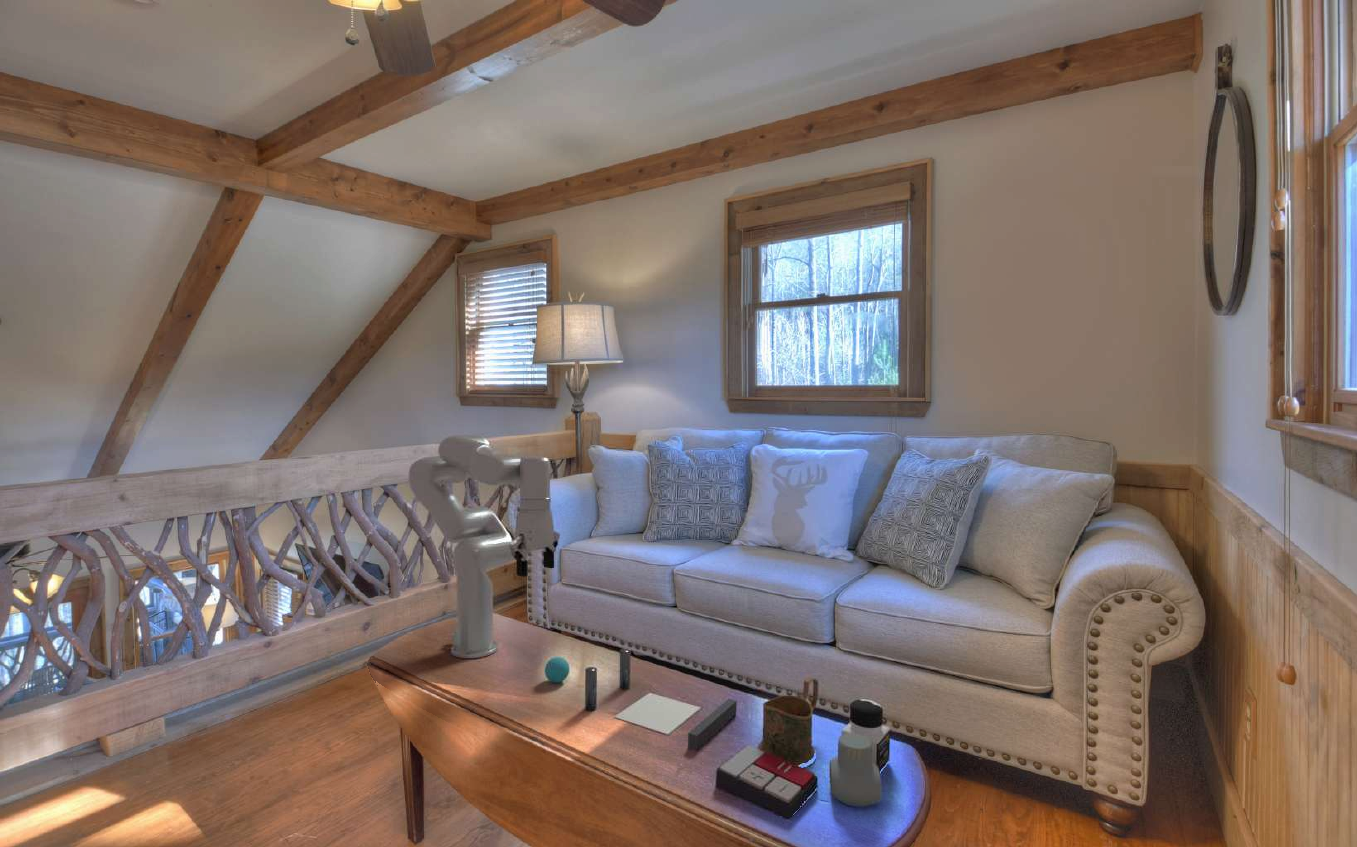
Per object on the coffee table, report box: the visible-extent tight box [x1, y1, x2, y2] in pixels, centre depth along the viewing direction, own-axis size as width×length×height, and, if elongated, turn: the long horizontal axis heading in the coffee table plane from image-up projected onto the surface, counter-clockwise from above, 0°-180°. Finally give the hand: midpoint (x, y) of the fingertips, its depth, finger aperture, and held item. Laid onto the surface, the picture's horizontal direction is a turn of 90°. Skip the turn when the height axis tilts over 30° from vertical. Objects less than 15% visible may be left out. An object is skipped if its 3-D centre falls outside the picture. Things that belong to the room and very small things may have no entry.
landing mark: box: [613, 692, 702, 736], centre depth 143 cm, size 14×14×1 cm
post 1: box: [584, 666, 598, 712], centre depth 145 cm, size 3×3×9 cm
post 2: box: [619, 648, 632, 691], centre depth 156 cm, size 3×3×9 cm
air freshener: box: [829, 733, 883, 807], centre depth 113 cm, size 11×8×10 cm
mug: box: [757, 677, 819, 766], centre depth 129 cm, size 12×18×12 cm, turn 140°
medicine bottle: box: [840, 698, 891, 772], centre depth 123 cm, size 7×7×12 cm
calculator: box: [715, 745, 819, 820], centre depth 115 cm, size 11×4×15 cm
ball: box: [544, 656, 570, 684], centre depth 159 cm, size 6×6×6 cm
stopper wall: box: [687, 698, 738, 751], centre depth 136 cm, size 2×18×3 cm, turn 149°
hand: (535, 571), depth 163 cm, fingers open, 9 cm apart
